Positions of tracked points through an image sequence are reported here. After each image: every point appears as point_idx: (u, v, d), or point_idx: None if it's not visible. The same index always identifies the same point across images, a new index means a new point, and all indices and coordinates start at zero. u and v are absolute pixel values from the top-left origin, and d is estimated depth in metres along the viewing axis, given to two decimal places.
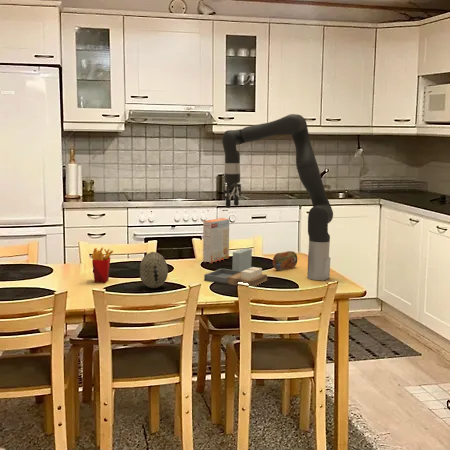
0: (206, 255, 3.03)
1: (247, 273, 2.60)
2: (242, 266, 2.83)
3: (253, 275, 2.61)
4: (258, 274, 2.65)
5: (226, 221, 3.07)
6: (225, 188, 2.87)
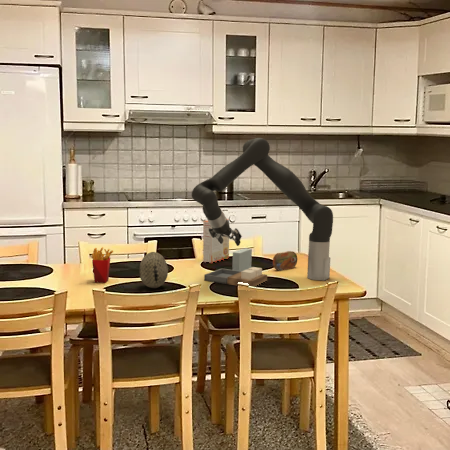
0: (206, 255, 3.03)
1: (247, 273, 2.60)
2: (242, 266, 2.83)
3: (253, 275, 2.61)
4: (258, 274, 2.65)
5: None
6: (236, 232, 2.65)
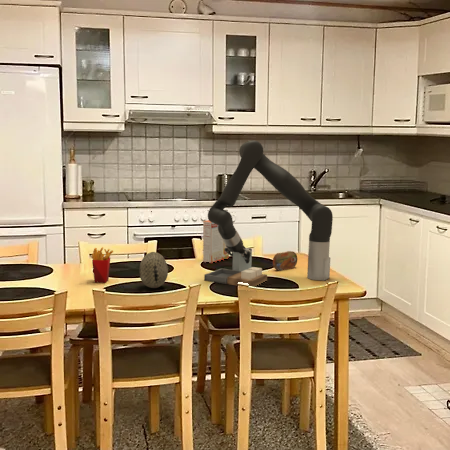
0: (206, 255, 3.03)
1: (247, 273, 2.60)
2: (242, 266, 2.83)
3: (253, 275, 2.61)
4: (258, 274, 2.65)
5: None
6: (250, 252, 2.78)
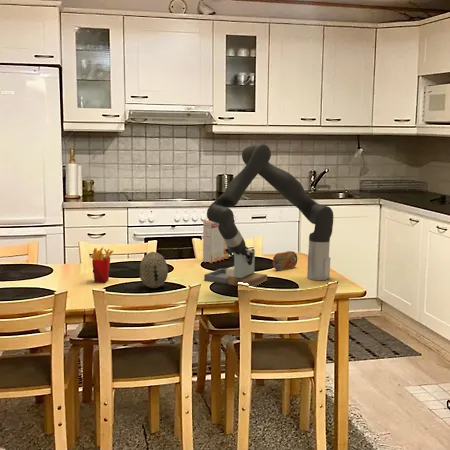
0: (206, 255, 3.03)
1: (231, 270, 2.64)
2: (244, 269, 2.63)
3: None
4: None
5: None
6: (253, 253, 2.58)
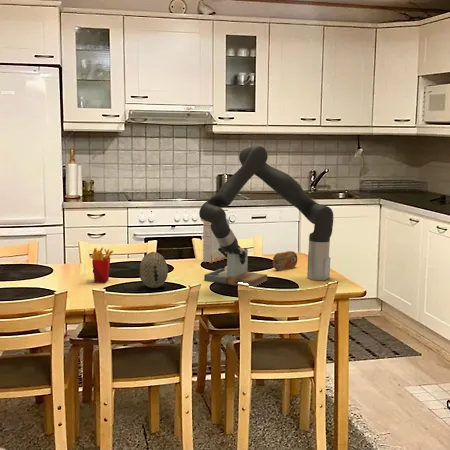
0: (206, 255, 3.03)
1: (224, 273, 2.66)
2: (237, 268, 2.65)
3: None
4: None
5: None
6: (245, 252, 2.60)
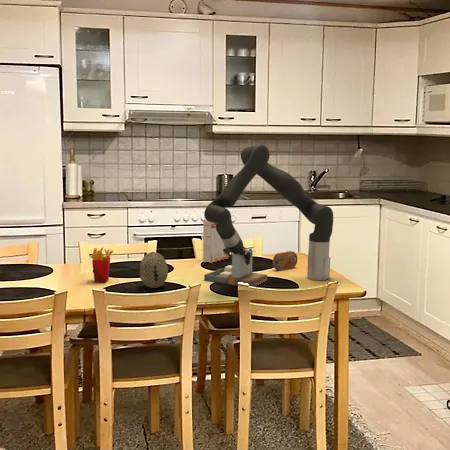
0: (206, 255, 3.03)
1: (225, 275, 2.66)
2: (242, 269, 2.64)
3: None
4: (229, 267, 2.72)
5: None
6: (250, 253, 2.59)
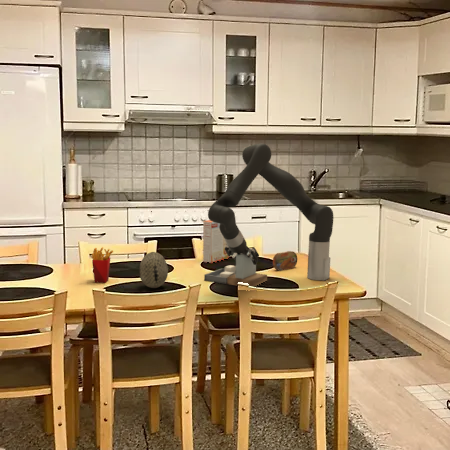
0: (206, 255, 3.03)
1: (225, 275, 2.66)
2: (246, 270, 2.63)
3: None
4: (229, 267, 2.72)
5: None
6: (254, 251, 2.56)
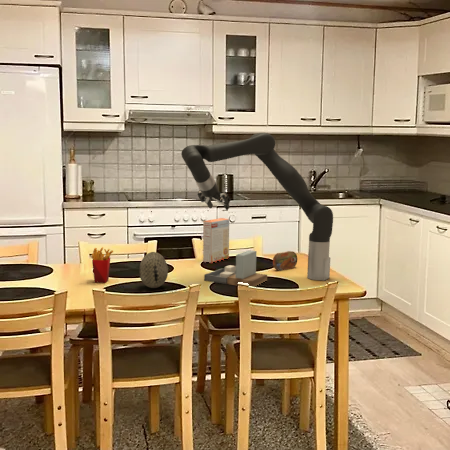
0: (206, 255, 3.03)
1: (225, 275, 2.66)
2: (246, 270, 2.63)
3: None
4: (229, 267, 2.72)
5: (226, 221, 3.07)
6: (225, 195, 2.65)
